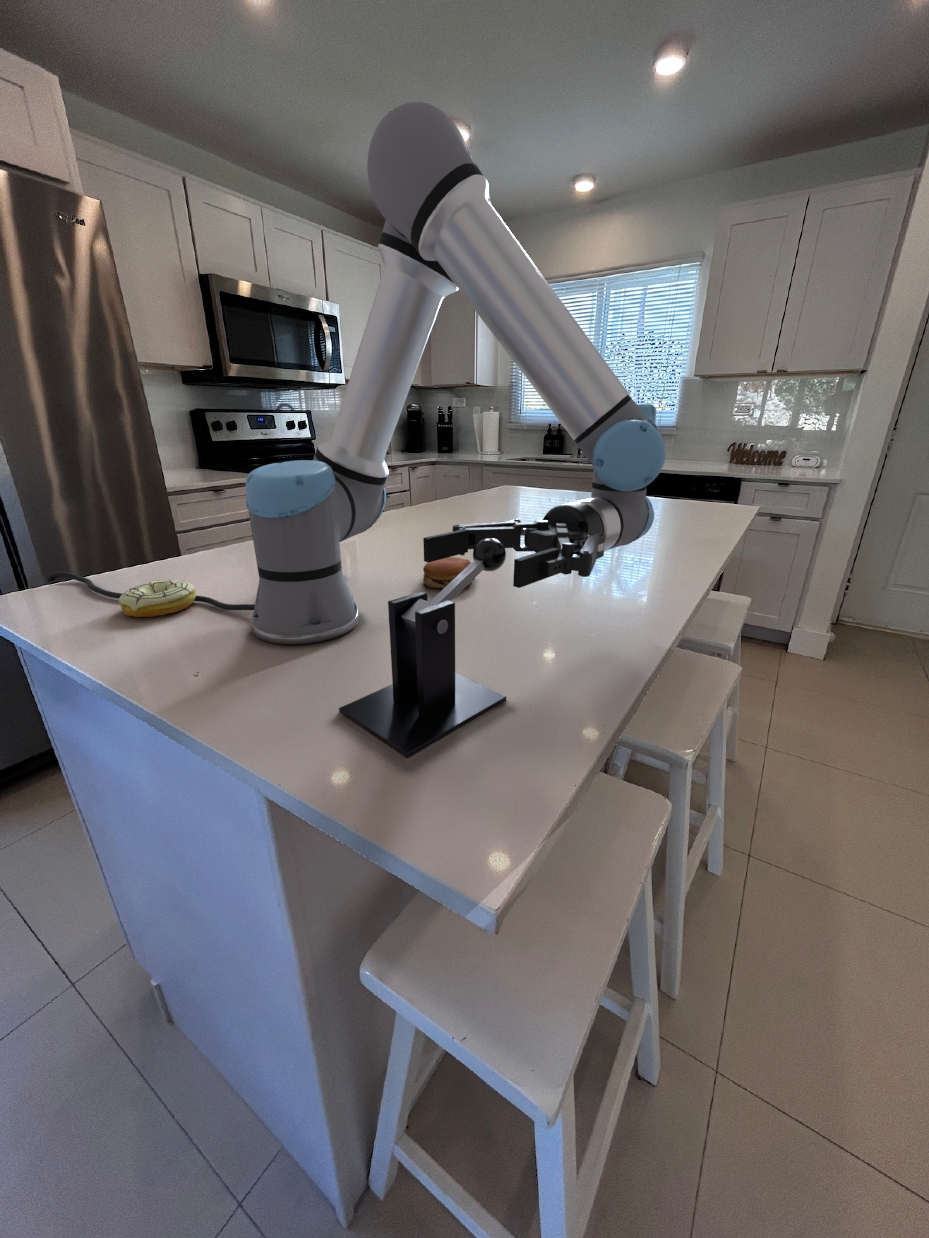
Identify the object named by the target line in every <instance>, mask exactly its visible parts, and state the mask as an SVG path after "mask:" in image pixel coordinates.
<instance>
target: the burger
mask: <svg viewBox="0 0 929 1238" xmlns="http://www.w3.org/2000/svg"><path fill="white" fill-rule="evenodd" d="M471 563H472V561H470V560H469V559H467V558H466V559H465V558H461V557H455V556H452V557H448V558H444V559H440V560H436V561H432V562H429V563H428V562H425V564H424V566H423V569H422V570H423V578H422V580H423V584H424V585H425V586H426V587H428V588H432V589H444V588H445V587H446V586H447V585H448V584H449V583H450V582H451V581H452V580H453V579H455V578H456V577H457V576H458V575H459V574H460V573H461V572H462V571H463V570H464V569H465V568H466V567H467V566H468V565H469V564H471ZM473 581H475V578H474V579H473V580H472V581H471V582H470V583H469V584H468V585H467V586H469V585H471V584H472V583H473Z"/></svg>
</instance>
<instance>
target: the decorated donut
mask: <svg viewBox="0 0 929 1238" xmlns="http://www.w3.org/2000/svg"><path fill="white" fill-rule="evenodd" d="M122 594H123V595H121V596H120V598H119V599H118V602H119V604H120V609H121V611H122V612H123V613H124V614H125V615H126V616H128V617H133V618H135V617H137V618H145V617H147V618H153V617H157V616H167V614H174V613H178V612H179V611H182V610H184V609H188V608H189V607H190V606H191V605H192V604H193V603H194V602H195V601H194V599H195V597H196V596H197V593H196V589H195V587H194V585H193V584H191V583H189V582H188V581H184V580H180V579H162V580H161V579H159V580H154V581H150V582H145V583H141V584H138V585H135V586H133V587H130V588H129V589H127V590H125V591H124V592H123V593H122Z"/></svg>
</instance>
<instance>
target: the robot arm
mask: <svg viewBox="0 0 929 1238" xmlns="http://www.w3.org/2000/svg"><path fill="white" fill-rule="evenodd" d="M366 165H367V166H366V169H367V179H368V184H369V189H370V193H371V196H372V198H373V201H374V204H375V206H376V207H377V209H378V211H379V212H380V214H381V216H382V217H383V218H384V219H385V221H384V224H383V227H382V231H381V235H380V238H379V242H378V245H377V250H378V252H379V254H380V257H381V259H382V262H383V270H382V273H381V275H380V279H379V283H378V286H377V288H376V292H375V295H374V298H373V302H372V305H371V308H370V311H369V314H368V317H367V320H366V324H365V328H364V330H363V334H362V337H361V340H360V342H359V343H360V344H359V346H358V349H357V352H356V356H355V359H354V362H353V366H352V369H351V372H350V376H349V377H348V378H349V379H348V381H347V382H348V383H347V385H346V387H345V388H346V389H345V391H344V395H343V399H342V401H341V404H340V406H339V411H338V414H337V417H336V421H335V424H334V427H333V430H332V434H331V436H330V437H328V438H325V439H323V440H322V441H320V442H318V443H317V446H316V450H315V452H314V456H313V459H312V460H310V459H309V460H305V459H303V460H302V459H300V460H288V461H282V462H274V463H269V464H265V465H262V466H259V467H257V468H255V469H253V470H252V471H250V472H249V473H248V475H247V476H246V479H245V493H246V498H245V505H246V509H247V510H248V516H249V522H250V528H251V529H250V530H251V534H252V541H253V547H254V548H253V549H254V555H255V561H256V566H257V567H256V568H257V574H258V584H257V585H258V586H257V590H256V596H255V601H254V603H239V604H236V603H235V604H232V603H231V604H230V603H224V602H221V601H219V600H217V599H214V598H212V597H208V596H203V595H196V597H195V599H194V602H199V603H200V602H201V603H206V604H209V605H212V606H214V607H216V608H218V609H221V610H226V611H232V612H233V611H235V612H236V611H253V613H252V616H251V617H252V621H251V623H252V629H253V634H254V635H255V636H256V637H257V638H259V639H260V640H263V641H265V642H268V643H271V644H272V643H273V644H277V645H278V644H279V645H308V644H315V643H321V642H324V641H325V642H326V641H329V640H333V639H335V638H338V637H341V636H343V635H345V634H347V633H349V632H351V631H352V630H354V629H355V628H356V626H357V625H358V624H359V607H358V603H357V601H356V600H355V599H354V597H353V595H352V593H351V590H350V588H349V586H348V583H347V581H346V579H345V576H344V573H343V569H342V568H343V567H342V566H343V565H342V555H341V545H340V543H341V542H344V541H346V540H348V539H350V538H353V537H354V536H357V535H359V534H362V533H365V532H366V531H367V530H369V529H370V528H372V527H373V525H374V524H375V523H377V521H379V519H380V518H381V517H382V514H383V513H384V510H385V508H386V503H387V490H386V488H385V485H386V482H387V480H388V477H389V475H390V470H389V468H388V465H387V464H386V461H385V457H386V455H387V452H388V450H389V446H390V443H391V440H392V438H393V436H394V433H395V430H396V427H397V425H398V422H399V419H400V416H401V414H402V411H403V408H404V405H405V403H406V401H407V397H408V394H409V392H410V389H411V386H412V384H413V381H414V379H415V376H416V373H417V370H418V367H419V364H420V361H421V359H422V357H423V354H424V351H425V348H426V345H427V343H428V340H429V337H430V334H431V333H432V329H433V326H434V324H435V321H436V318H437V316H438V313H439V309H440V307H441V304H442V302H443V300H444V299H445V298H446V297H448V296H450V295H451V294H454V293H455V292H458V291H459V292H460V293H461V294H462V296H463V297H464V298H465V299H466V301H467V302H468V304H469V305H470V306H471V308H472V309H473V310H474V311H475V312H476V314H477V315H478V317H479V318H480V319H481V321H483V323H484V325H486V327H487V328H488V330H489V331H490V332H491V334H492V335H493V336H494V338H495V339H496V340H497V341H498V343H499V344H500V345H501V346H502V348H503V349H504V350H505V352H506V353H507V354H508V356H509V357H510V358H511V360H512V361H513V362H514V364H515V365H516V366H517V367H518V369H519V370H520V371H521V373H522V375H524V377H525V378H526V379H527V381H528V382H529V383H530V385H531V386H532V387H533V389H534V390H535V391H536V392H537V394H538V395H539V396H540V398H541V399H542V400H543V402H544V403H545V404H546V405H547V407H548V409H549V410H550V411H551V412H552V413H553V415H554V416H555V417H556V419H557V420H558V421H559V422H560V424H561V425H562V427H563V428H564V429H565V430H566V432H567V433H568V434H569V436H570V437H571V438H572V440H573V441H574V442H575V444H576V446H577V448H579V450H580V451H581V452H582V454H583V455H584V456H585V458H586V459H587V460H588V462H589V463H590V464H591V465H592V467H593V472H592V482H591V492H590V498H585V499H580V500H576V501H574V502H567V503H563V504H559V505H556V506H554V507H552V508H550V509H549V510H548V511H547V513H546V514H545V515H544V517H543V518H542V519H536V520H534V521H531V522H529V521H528V522H527V521H526V522H522V520H521V519H519V518H514V519H509V520H505V521H504V520H503V521H492V522H480V523H479V522H478V523H477V522H476V523H465V524H453V525H452V531H449V532H444V533H440V534H435V535H430V536H425V537H423V538H422V543H423V562H424V563H429V562H432V561H436V560H440V559H444V558H448V557H455V556H465V555H466V554H467V553H469V550H474V548H475V546H476V544H477V543H478V542H480V541H481V540H483V539H486V538H493V539H496V540H498V541H500V542H501V543H502V544H503V546H504V548H505V549H513V550H514V551H515V552H519V553H521V552H523V553H524V552H535V553H531V554H528V555H525V556H521V557H517V558H514V560H513V583H512V587H514V588H518V589H520V588H524V587H526V586H529V585H531V584H534V583H537V582H540V581H543V580H545V579H549V578H551V577H553V576H556V575H559V574H562V575H565V576H566V575H571V574H572V572H577V576H579V577H582V578H587V577H590V576H591V573H592V572H593V569H594V567H595V565H596V562H597V560H598V559H601V558H602V557H604V556H605V552H606V551H609V550H612V549H615V548H618V547H623V546H627V545H630V544H632V543H633V542H635V541H638V540H639V539H640V538H642V537H643V536H645V535H646V534H647V533H649V531H650V530H651V528H652V526H653V524H654V519H655V510H654V507H653V504H652V501H651V500H650V499H649V497H648V496H647V491H648V490H647V487H648V486H649V485H650V484H651V483H652V482H654V480H655V479H656V478H658V476H659V475H660V473H661V471H662V469H663V467H664V464H665V461H666V458H667V457H666V456H667V447H666V443H665V438H664V436H663V435H662V433H661V431H660V430H659V428H658V427H657V425H656V419H657V408H656V406H654V405H653V404H651V403H636V401H634V399H633V398H632V397H631V396H630V394H629V392H628V390H627V388H625V386H624V385H623V384H622V382H621V381H620V379H619V378H618V376H617V375H616V374H615V373H614V371H613V370H612V369H611V367H610V366H609V364H608V363H607V362H606V360H605V358H604V357H603V356H602V355H601V353H600V352H599V350H598V349H597V348H596V346H595V345H594V344H593V342H592V341H591V340H590V338H589V337H588V335H587V334H586V333H585V332H584V330H583V329H582V327H581V326H580V324H579V323H578V322H577V320H576V319H575V318H574V316H573V315H572V314H571V312H570V311H569V309H568V308H567V306H566V305H565V304H564V303H563V301H562V300H561V299H560V297H559V296H558V294H557V293H556V291H555V290H554V289H553V287H552V286H551V284H549V281H548V280H547V279H546V278H545V276H544V275H543V274H542V272H541V271H540V269H539V268H538V267H537V266H536V264H535V263H534V261H533V259H531V257H530V256H529V255H528V253H527V252H526V250H525V249H524V247H522V245H521V243H520V242H519V241H518V240H517V238H516V237H515V235H514V234H513V232H512V231H511V230H510V228H509V227H508V225H506V222H504V220H503V219H502V217H501V216H500V214H499V213H498V212H497V210H496V209H495V208H494V206H493V205H492V201H491V196H490V193H489V192H490V185H489V182H488V180H487V178H486V177H485V175H484V173H483V172H482V171H481V169H480V168H479V166H478V164H477V163H476V161H474V159H473V156H472V154H471V152H470V150H469V148H468V146H467V144H466V141H465V139H464V137H463V135H462V133H461V131H460V129H459V127H458V126H457V124H456V123H455V121H453V120H452V119H451V118H450V117H449V115H448V114H447V113H446V112H445V111H443V110H442V109H440V108H439V107H438V106H436V105H434V104H432V103H429V102H423V101H408V102H404V103H401V104H399V105H397V106H395V107H394V108H392V109H390V110H389V111H388V112H387V113H386V114H385V115H384V116H383V117H382V118H381V119H380V121H379V123H378V125H377V126H376V128H375V129H374V132H373V135H372V137H371V140H370V143H369V147H368V151H367V164H366ZM522 536H523V537H524V538H523V543H524V544H523V545H522V544H521V540H522V539H521V538H522ZM57 578H68V579H70V580H74V581H78V582H80V583H83V584H86V586H87V588H88V589H89V590H90V591H92V592H95V593H97V594H99V595H101V596H104V597H108V598H112V599H118V600H119V598H120V596H121V595H123V594H124V593H121V592H117V591H111V590H107V589H103V588H102V587H99V586H97V585H95V584H94V583H93V581H92V580H91V579H89V578H87V577H84V576H81V575H78V574H75V573H72V572H67V571H55V572H53V573H51V574H50V575H49V577H48V578H47V582H54V581H55V580H56V579H57Z"/></svg>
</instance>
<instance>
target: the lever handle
mask: <svg viewBox="0 0 929 1238" xmlns="http://www.w3.org/2000/svg"><path fill="white" fill-rule="evenodd" d="M506 558H507V550H506V548H504V546H503V544H502V543H501V542H500V541H498V540H496V539H493V538H486V539H483V540H481V541H480V542H478V543H477V544H476V546H475V548H474V549H472V559H473V560H472V561H471V564H469V565H468V566H467V567H466V568H465V569H464V570H463V571H462V572H461V573H460V574H459V575H458V576H457V577H456V578H455V579H453V580H452V581H451V582H450V583H449V584H448V585H447V586H446V587H445V588H442V589H441V591H439V593H437V594H436V595H435V596H434V597H433V598H432V599H431V600H430V601H425V600H422V599H419V600H418V601H417V602H416V603H415V604H414V605H413V606H411V607H410V608H409V609H408V610H407V611H406V612H405V613H404V614H403V615H402V616H401V617H402V619H403V621H404V623H405V625H406V627H407V629H408V631H409V633H410V634H412V635H415V636H416V630H415V611H418V610H421V609H424V608H427V607H430V606H433V605H436V604H439V603H442V602H445V601H453V600H454V599H455V598H456V597H457V596H458V595H459V594H460V593H461V592H462V591H463V590H464V589H465V588H466V587H467V586H469V585H470V584H469V583H470V582H471V581H472V580H473V579H474V580H475V579H476V577H478V576H479V575H480V574H481V573H482V572H483V571H485V572H495V571H497V570H499V569H501V567H502V566H503V565H504V563H505V561H506ZM474 580H473V581H474ZM473 581H472V582H473ZM468 584H469V585H468Z"/></svg>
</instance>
